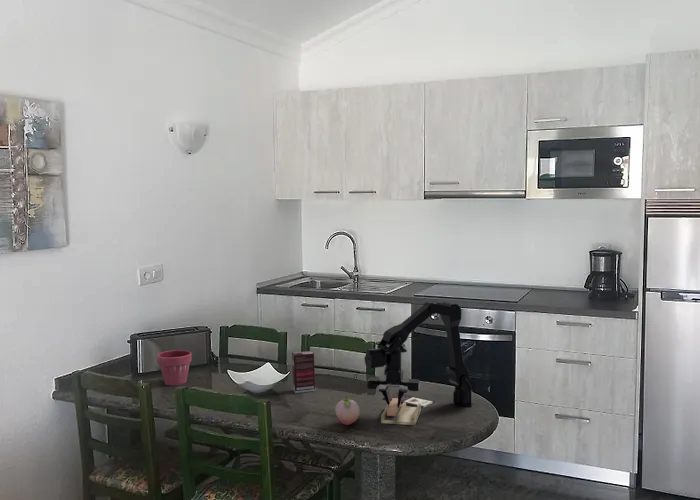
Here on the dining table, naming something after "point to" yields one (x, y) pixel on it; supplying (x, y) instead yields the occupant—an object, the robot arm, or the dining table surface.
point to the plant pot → (174, 366)
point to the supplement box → (303, 371)
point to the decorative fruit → (347, 411)
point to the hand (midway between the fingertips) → (394, 407)
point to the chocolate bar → (412, 400)
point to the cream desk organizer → (402, 415)
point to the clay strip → (393, 407)
